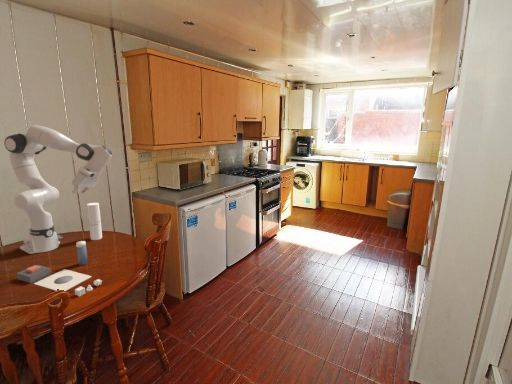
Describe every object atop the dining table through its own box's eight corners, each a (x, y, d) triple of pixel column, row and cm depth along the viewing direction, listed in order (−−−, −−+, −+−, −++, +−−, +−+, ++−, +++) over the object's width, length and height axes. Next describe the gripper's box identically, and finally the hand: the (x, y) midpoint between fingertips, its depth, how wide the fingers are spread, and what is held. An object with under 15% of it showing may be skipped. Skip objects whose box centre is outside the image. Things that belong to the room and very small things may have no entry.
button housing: (17, 279, 144) (16, 273, 144) (38, 270, 154) (37, 264, 153) (30, 283, 141) (29, 276, 140) (51, 273, 150) (50, 267, 150)
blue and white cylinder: (76, 264, 161) (74, 243, 158) (83, 261, 166) (81, 240, 163) (82, 266, 160) (80, 244, 157) (89, 262, 164) (87, 241, 161)
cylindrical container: (104, 237, 201) (101, 203, 196) (96, 240, 195) (92, 205, 189) (96, 235, 204) (93, 202, 198) (88, 239, 197) (84, 204, 192)
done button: (26, 274, 146) (25, 268, 145) (35, 270, 150) (34, 265, 149) (32, 275, 144) (31, 270, 144) (41, 271, 148) (40, 266, 148)
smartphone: (51, 240, 193) (41, 235, 200) (51, 241, 193) (41, 236, 201) (63, 236, 199) (52, 231, 206) (63, 238, 199) (52, 233, 207)
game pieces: (79, 297, 132) (78, 291, 131) (75, 295, 133) (74, 289, 132) (103, 284, 142) (102, 279, 141) (99, 283, 144) (98, 277, 143)
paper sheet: (33, 284, 141) (33, 283, 141) (64, 269, 155) (64, 268, 155) (62, 292, 134) (62, 292, 134) (91, 276, 149) (91, 276, 149)
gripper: (95, 171, 171) (82, 190, 170) (77, 167, 151) (63, 189, 150) (104, 176, 172) (92, 195, 171) (88, 173, 151) (74, 195, 150)
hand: (78, 193), depth 160 cm, fingers open, 8 cm apart
